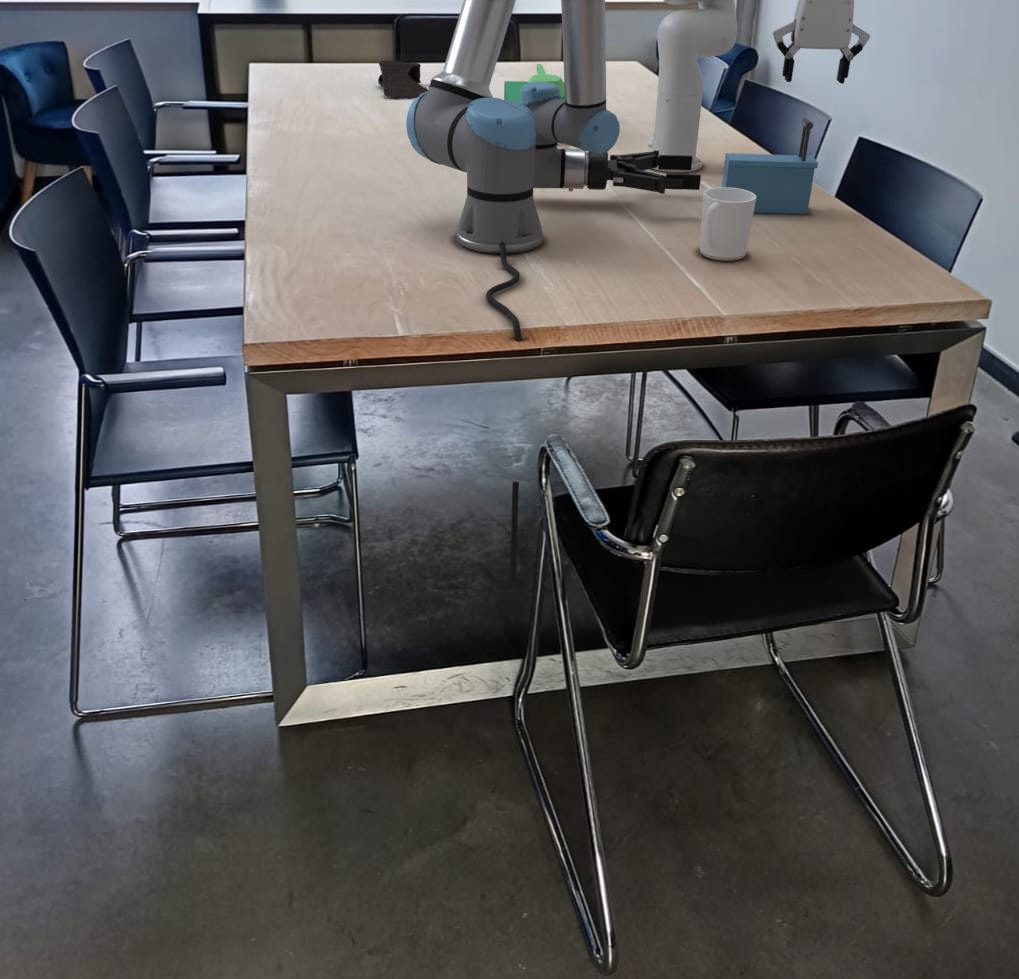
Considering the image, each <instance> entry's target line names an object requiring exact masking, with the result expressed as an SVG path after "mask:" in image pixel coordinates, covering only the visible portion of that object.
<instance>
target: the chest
mask: <svg viewBox="0 0 1019 979" xmlns="http://www.w3.org/2000/svg"><path fill="white" fill-rule="evenodd" d="M815 171H816V168H788V167H756V166H729V165H728V163H727V161H726V159H725V158H724V165H723V173H722V180H721V187H730V188H739V189H744V190H747V191H750V192H752V193H754V194H755V195H756V202H755V207H754V213H753V214H755V213H756V214H757V213H758V214H785V215H808V212H809V211H808V210H809V206H810V200H811V194H812V188H813V181H814V176H815Z"/></svg>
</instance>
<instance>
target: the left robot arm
mask: <svg viewBox="0 0 1019 979" xmlns="http://www.w3.org/2000/svg"><path fill="white" fill-rule="evenodd" d="M516 1H517V0H463V2H462V5H461V9H460V12H459V15H458V19H457V23H456V26H455V28H454V32H453V36H452V39H451V43H450V46H449V49H448V52H447V56H446V60H445V62H444V66H443V69H442V71H440V73H437V74H436V75H434V76H432V77H431V79H430V83H429V86H428V88H427V89H428V91H427V92H424V93H422V94H420V95H419V97H414V99H413V100H412V101H411V104H410V106H409V108H408V111H407V115H406V124H405V126H406V133H407V137H408V140H409V142H410V144H411V147H412V148H413V149H414V151H415V152H416V153H417V154H418V155H419V156H421V157H423V158H425V159H426V160H428V161H430V162H431V163H434V164H437V165H440V166H441V165H442V166H445V167H448V168H451V169H454V170H457V171H460V172H463V173H466V192H467V193H466V198H465V202H464V205H463V209H462V211H461V214H460V218H459V220H458V224H457V228H456V241H457V243H458V244H459V245H461V246H462V247H464V248H466V249H468V250H470V251H475V252H479V253H486V254H497V255H500V262H501V265H502V267H503V269H504V270H506V271H507V272H508V273H510V274H511V275H512V276H513V277H512V278H510V279H509V280H506V281H505V282H501V283H499V284H496V285H494V286H492V287H490V288H489V289H488V290H487V291H486V293H485V298H486V301H487V303H489V305H491V306H493V307H494V308H495V309H497V310H499V311H500V312H501V313H503V314H504V315H505V316H506V318H507V319H508V320H510V322H511V323H512V328H513V333H514V341H515V342H517V343H520V342H522V341H523V338H522V337H523V336H522V330H521V324H520V321H519V319H518V317H517V315H515V314H514V313H513V312H512V311H511V310H510V308H508V307H507V306H506V305H504V304H503V303H501V302H500V301H498V300H496V299H495V298H494V297H493V295H494V294H496V293H498V292H501V291H503V290H506V289H508V288H511V287H513V286H515V285H516V284H517V283H518V282H519V281H520V280H521V279H520V277H521V274H520V272H519V271H518V270H517V269H516V268H515V267H513V266H512V265H511V264H510V263H509V262H508V260H507V255H508V254H517V253H524V252H527V251H530V250H533V249H536V248H538V247H539V246H540V245H541V244H542V243H543V229H542V224H541V221H540V220H541V219H540V218H539V214H538V213H539V212H538V210H537V206H536V204H535V199H534V189H562V190H563V189H568V192H573V191H574V189H575V190H584V188H585V187H586V189H588V190H589V191H590V190H594V191H595V190H596V191H605V189H607V185H608V181H612V186H613V187H619V188H620V187H622V188H628V189H629V188H630V189H636V190H642V191H648V192H654V193H659V195H663V194H665V193H666V190H685V191H700V188H701V179H702V175H701V174H696V173H695V174H691V173H690V174H689V173H665V175H664V174H660V173H656V172H652V171H647V170H654V169H653V168H657V167H658V169H659V170H691V166H692V156H682V155H659V151H658V150H654V152H652V150H651V151H646V152H645V151H644V152H635V153H626V154H610V155H609V152H608V151H610V150H611V149H612V148H613V147H615V145H616V143H617V141H618V139H619V135H620V131H621V128H620V127H621V126H620V122H619V120H618V117H617V115H616V113H613V112H611V111H610V110H608V109H607V56H606V55H607V54H606V53H607V51H606V49H607V48H606V44H607V43H606V41H607V40H606V0H560V4H561V6H560V7H561V28H562V29H561V30H562V33H561V34H562V54H563V55H562V56H563V58H562V60H563V82H564V86H565V100H561V99H560V89H559V87H558V86H557V85H555V84H553V83H548V82H531V83H527V84H525V85H523V86H522V88H521V93H520V103H518V102H515V101H511V100H504V99H502V98H500V97H493V95H492V92H491V90H490V85H491V82H492V79H493V75H494V72H495V69H496V66H497V62H498V60H499V56H500V53H501V49H502V47H503V43H504V39H505V37H506V33H507V30H508V27H509V23H510V20H511V17H512V14H513V10H514V7H515V4H516ZM558 144H563V145H567V146H570V147H574V148H558ZM659 170H658V171H659ZM511 485H512V486H511V487H512V488H511V520H510V524H511V525H510V526H511V528H510V533H511V534H510V565H509V566H510V567H509V581H510V583H516V582H517V562H518V561H517V560H518V559H517V558H518V557H517V556H518V525H519V524H518V523H519V522H518V521H519V496H520V494H519V492H520V481H512V484H511Z"/></svg>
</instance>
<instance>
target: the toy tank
mask: <svg viewBox="0 0 1019 979" xmlns="http://www.w3.org/2000/svg"><path fill="white" fill-rule="evenodd" d="M536 72H537V74H533V75H532V76H531V77H530V78H529V80H528V81H523V80H521V81H520V80H504V82H503V100H511V101H515V102H518V103H520V93H521V88H522V86H523V85H525V84H527V83H531V82H548V83H553V84H555V85H557V86H558V87H559V89H560V99H561V100H565V86H564V80H563V79H562V77H560V76H559V75H555V74H548V73H546V71H545V68H544V66H543V64H542V63H537V64H536Z"/></svg>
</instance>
